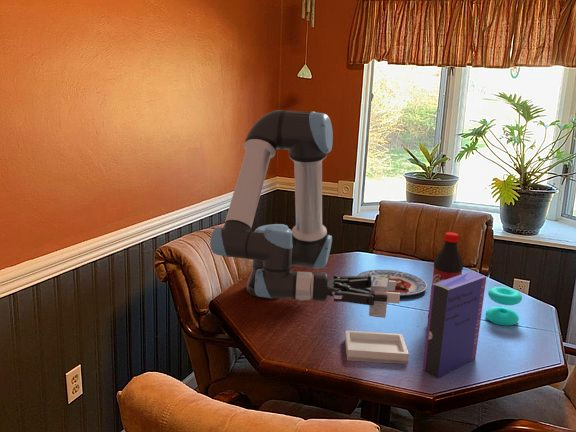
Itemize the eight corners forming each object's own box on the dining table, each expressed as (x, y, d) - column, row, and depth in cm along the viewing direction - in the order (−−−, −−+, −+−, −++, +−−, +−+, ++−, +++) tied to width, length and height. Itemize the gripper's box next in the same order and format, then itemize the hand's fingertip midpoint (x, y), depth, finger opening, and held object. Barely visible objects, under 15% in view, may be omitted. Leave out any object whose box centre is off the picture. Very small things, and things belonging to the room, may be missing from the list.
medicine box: (385, 318, 148) (388, 287, 146) (368, 316, 148) (370, 285, 146) (386, 307, 155) (389, 277, 153) (370, 305, 156) (372, 275, 154)
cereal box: (460, 352, 157) (470, 270, 151) (475, 359, 153) (486, 275, 148) (422, 370, 146) (431, 283, 140) (437, 378, 142) (448, 289, 137)
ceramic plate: (429, 303, 192) (430, 295, 191) (353, 296, 195) (354, 288, 195) (423, 278, 216) (424, 271, 216) (356, 272, 220) (357, 265, 219)
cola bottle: (436, 334, 167) (447, 237, 160) (421, 322, 175) (431, 229, 168) (460, 332, 170) (473, 236, 163) (445, 320, 178) (456, 229, 171)
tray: (345, 340, 161) (345, 330, 160) (401, 343, 160) (402, 334, 160) (347, 360, 149) (347, 349, 149) (407, 364, 149) (408, 353, 148)
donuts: (485, 291, 176) (493, 283, 184) (481, 321, 179) (489, 311, 187) (518, 299, 171) (525, 290, 179) (513, 329, 173) (521, 319, 181)
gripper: (312, 285, 162) (391, 290, 161) (310, 315, 142) (401, 321, 141) (313, 261, 161) (393, 265, 160) (312, 287, 140) (404, 293, 139)
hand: (397, 291), depth 150 cm, fingers closed on medicine box, 8 cm apart
